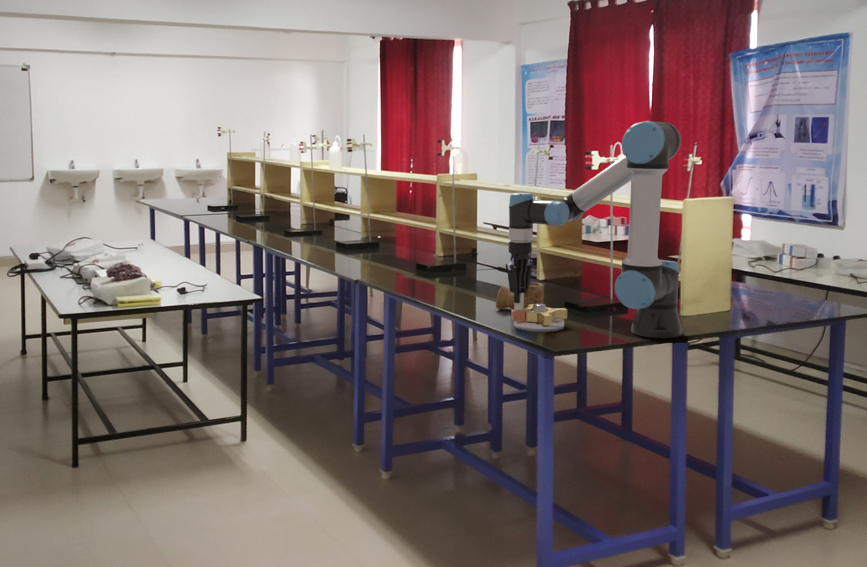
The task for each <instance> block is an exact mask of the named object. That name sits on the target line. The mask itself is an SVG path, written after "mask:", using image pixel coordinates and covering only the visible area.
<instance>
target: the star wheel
mask: <svg viewBox="0 0 867 567" xmlns="http://www.w3.org/2000/svg"><path fill="white" fill-rule="evenodd" d="M533 305H534V304H528V308H525V309H523V310H514V309H511V310H510V312H511V313H510V319H511V321H512V322H514V321H525V320H526V321H530V322H538V323H542V324H543V325H552V321H554V320H556V319H563V320H567V319H568V308H566V307H561V308H559V307H558V308H557V307H556V308H552V307H549V306H548V307H547V306H546V312H535V311H533Z"/></svg>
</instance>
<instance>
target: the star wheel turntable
mask: <svg viewBox="0 0 867 567" xmlns="http://www.w3.org/2000/svg"><path fill="white" fill-rule="evenodd" d="M546 307H547V306H546V304H545V303H543V304H534V305H533V311H535V312H546ZM514 326H515V327H516V328H515V327H514ZM513 327H514V328H515V329H517V328H518V329H517V330H520V329H521V330H520V331H524V330H525V331H526V332H534V333H549V332H550V333H551V332H557V331H561V330H563V329H564V328H565V319H556V320H554V321H552V325H543V324H542V323H538V322H530V321H526V320H525V321H513Z"/></svg>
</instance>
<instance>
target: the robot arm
mask: <svg viewBox="0 0 867 567" xmlns="http://www.w3.org/2000/svg"><path fill="white" fill-rule="evenodd" d="M681 144H682V137H681V134H680V132H679V130H678V129H677V127H676V126H675V125H673V123H669V122H668V121H667V122H666V121H653V120H651V121H650V120H645V121H644V120H643V121H641V122H636V123H634V124H632V125H631V126H630V127H629V128H627V130H626V132H625V133H624V135H623V136H622V139H621V149H622V153H623V156H622V157H620V158H619V159H617V160H616V161H615V162H613V163H612V164H610V165H609V166H607V167H606V168H604V169H603V170H602V171H600V172H599V173H597V174H596V175H595V176H594V177H592V178H590V179H589V180H588V181H586V182H584V184H582V185H581V186H579V187H577V188H575V190H574V191H572V192H570V194H567V196H565V197H564V198H560V199H550V200H536V199H534V194H533V193H532V192H531V193H530V192H513V193H511V194H510V196H509V204H508V219H509V220H508V221H509V222H508V224H509V225H508V240H509V241H508V253H509V254H510V260H509V261H510V262H509V263H505V269H506V272H507V279H508V286H509V287H508V288H509V289H510V292H512V293H514V309H513V310H523V309H524V293H527V291H526V290H528V289H529V283H531V276H532V269H533V266H534V263H535V261H534V260H532V259H530V254H531V253H532V252H533V242H532V240H533V225H534V224H536V225H548V226H553V227H554V226H564V225H566V223H567V222H575V221H577V220H579V219H581V218H582V216H583V215H584V213H585V212H587V211H588V210H589V209H590V210H591V208H593V207H594V206H595V205H597V204H598V203H600V202H601V201H603V200H604V199H606V198H607V197H610V195H612V194H614V193H615V192H617V191H618V190H620V189H621V188H622V187H624V186H625V185H627V184H628V183H630V182H631V184H630V199H629V200H630V202H629V203H630V204H629V221H628V240H627V256H626V257H625V258H623V260H622V261H621V268H620V269H621V270H620V271H621V273H620V274H619V276H618V275H617V278H616V280H615V282H614V293H615V296H616V298H617V299H618V300H619V301H620V303H621V304H622V305H623V306H624V307H627V308H629V309H632V310H636V313H635V315H634V318H633V320H632V323H631V328H630V329H631V330H630V331H631V333H632V334H634V335H636V336H640V337H645V338H652V339H672V338H678V337H680V336H682V330H683V328H682V327H683V326H682V324H681V321H680V320H681V319H680V317H679V313H678V307H677V306H678V294H679V281H680V280H679V277H680V276H679V275H680V265H679V263H678V262H676V261H673V260H661V259H659V257H658V252H659V251H658V250H659V239H660V238H659V235H660V220H661V218H660V217H661V200H662V186H663V185H662V184H663V175H664V174H665V173H666V172H667V171H668V170H669V160H671V159H672V158H674V157H675V156H676V154H677V153H678V152H679V150H680V148H681Z"/></svg>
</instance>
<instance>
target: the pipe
mask: <svg viewBox="0 0 867 567" xmlns="http://www.w3.org/2000/svg"><path fill="white" fill-rule="evenodd" d="M526 291H527V293H524V309H525V308H528V304H544V300H545V299H544V297H545V293H544V287H543V284H542V282H530V283H529V289H528V290H526ZM495 308H496V309H498V310H502V309H503V310H504V309H507V308H508V309H511V310H514V293H512V292H510V288H509V287H508V286H506V285H503V286H501V287H500V288H499V290H498V292H497V296H496V301H495Z"/></svg>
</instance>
